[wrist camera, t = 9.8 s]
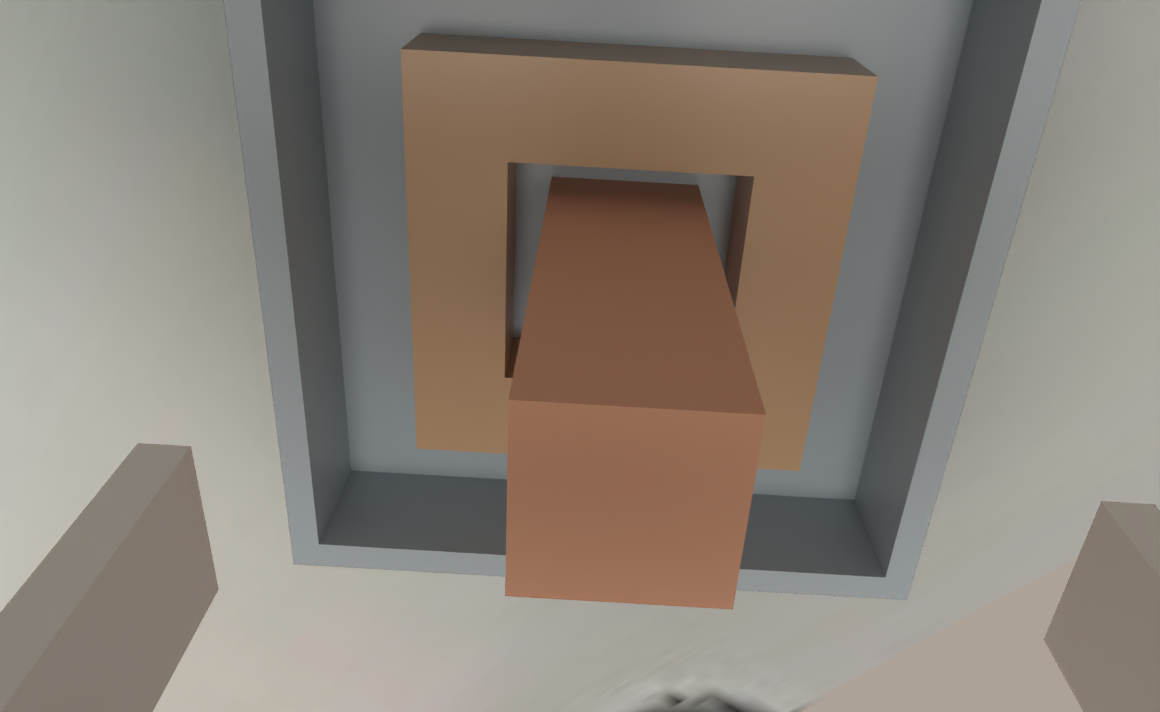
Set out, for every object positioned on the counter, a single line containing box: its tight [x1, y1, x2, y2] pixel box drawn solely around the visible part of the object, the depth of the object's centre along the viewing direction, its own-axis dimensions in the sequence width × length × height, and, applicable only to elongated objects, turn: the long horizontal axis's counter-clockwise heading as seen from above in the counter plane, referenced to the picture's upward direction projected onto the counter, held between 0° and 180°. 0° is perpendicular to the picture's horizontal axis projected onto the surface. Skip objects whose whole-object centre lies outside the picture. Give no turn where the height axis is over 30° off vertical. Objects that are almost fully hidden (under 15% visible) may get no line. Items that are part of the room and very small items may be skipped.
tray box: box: [223, 0, 1081, 600], centre depth 24 cm, size 18×18×4 cm
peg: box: [505, 177, 766, 609], centre depth 20 cm, size 4×4×12 cm
